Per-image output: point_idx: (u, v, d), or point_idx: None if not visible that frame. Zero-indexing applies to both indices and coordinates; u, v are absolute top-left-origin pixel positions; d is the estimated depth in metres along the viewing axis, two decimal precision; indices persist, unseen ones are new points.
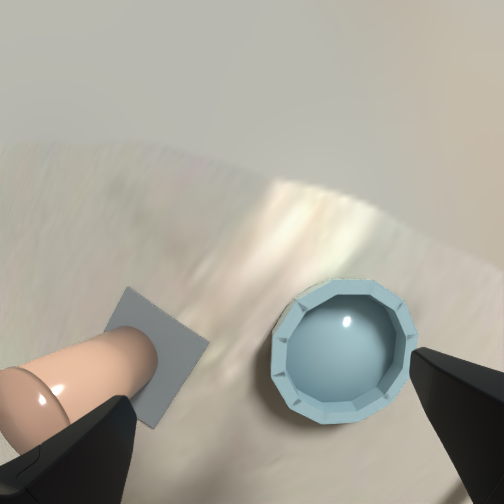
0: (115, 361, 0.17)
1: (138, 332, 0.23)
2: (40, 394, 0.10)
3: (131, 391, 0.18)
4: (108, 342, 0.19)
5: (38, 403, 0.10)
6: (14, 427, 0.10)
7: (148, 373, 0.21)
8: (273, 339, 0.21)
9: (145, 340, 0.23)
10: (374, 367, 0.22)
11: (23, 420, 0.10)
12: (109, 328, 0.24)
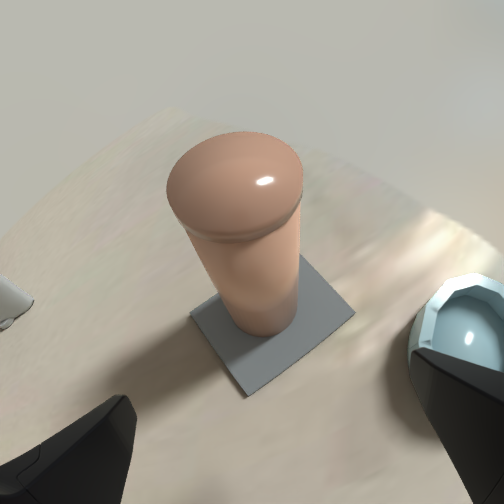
0: None
1: None
2: (292, 150, 0.12)
3: (289, 296, 0.18)
4: None
5: (283, 156, 0.12)
6: (207, 179, 0.12)
7: (292, 311, 0.21)
8: (426, 307, 0.19)
9: None
10: None
11: (237, 170, 0.12)
12: None
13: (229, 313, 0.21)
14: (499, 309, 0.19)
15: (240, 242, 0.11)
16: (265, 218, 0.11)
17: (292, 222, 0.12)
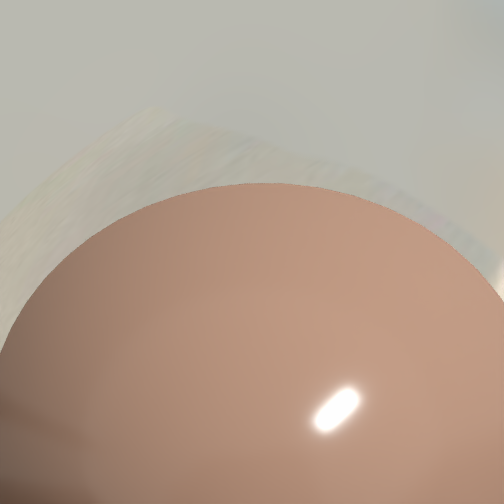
0: None
1: None
2: (501, 311, 0.02)
3: None
4: None
5: (482, 356, 0.02)
6: (107, 488, 0.02)
7: None
8: None
9: None
10: None
11: (253, 475, 0.02)
12: None
13: None
14: None
15: None
16: None
17: None
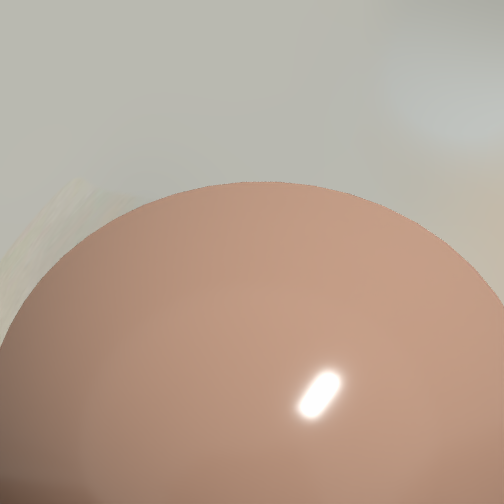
0: None
1: None
2: (498, 309, 0.02)
3: None
4: None
5: (478, 354, 0.02)
6: (103, 484, 0.02)
7: None
8: None
9: None
10: None
11: (247, 470, 0.02)
12: None
13: None
14: None
15: None
16: None
17: None
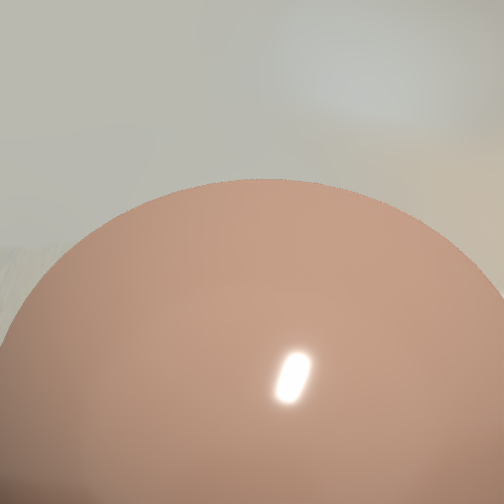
0: None
1: None
2: (501, 306, 0.02)
3: None
4: None
5: (481, 351, 0.02)
6: (106, 483, 0.02)
7: None
8: None
9: None
10: None
11: (253, 469, 0.02)
12: None
13: None
14: None
15: None
16: None
17: None
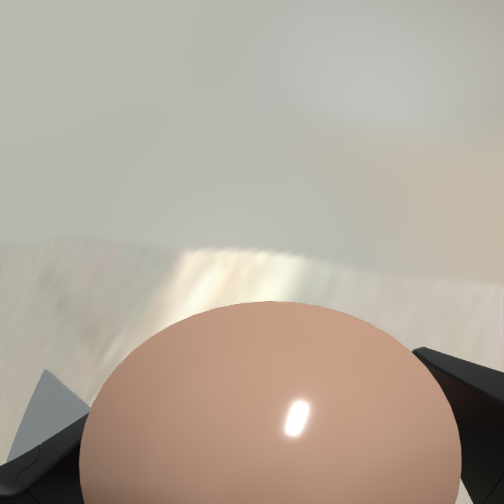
0: None
1: None
2: (440, 393, 0.03)
3: None
4: None
5: (417, 424, 0.03)
6: None
7: None
8: None
9: None
10: None
11: (276, 489, 0.03)
12: (28, 411, 0.17)
13: None
14: None
15: None
16: None
17: None
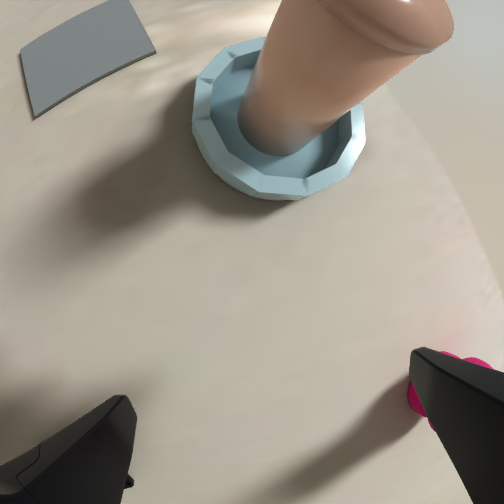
0: None
1: None
2: (451, 18, 0.06)
3: (315, 128, 0.14)
4: None
5: (441, 13, 0.06)
6: None
7: (299, 145, 0.17)
8: (223, 51, 0.17)
9: None
10: (301, 160, 0.20)
11: None
12: (81, 15, 0.17)
13: (242, 99, 0.17)
14: None
15: (346, 25, 0.07)
16: (393, 27, 0.06)
17: (401, 61, 0.08)
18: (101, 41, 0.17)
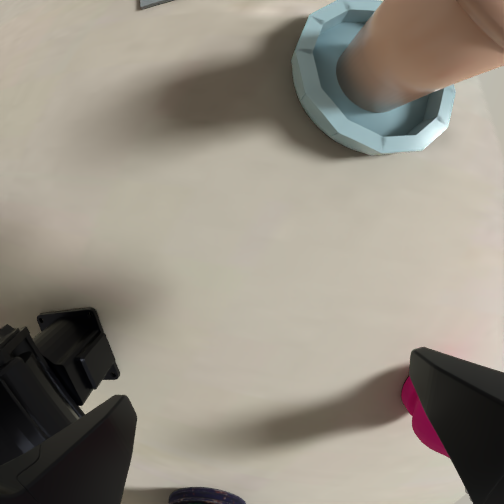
0: None
1: None
2: None
3: (407, 92, 0.13)
4: None
5: None
6: None
7: (387, 106, 0.16)
8: (339, 0, 0.14)
9: None
10: (384, 121, 0.18)
11: None
12: None
13: (347, 47, 0.15)
14: None
15: (460, 7, 0.05)
16: (500, 23, 0.04)
17: (500, 57, 0.06)
18: None
